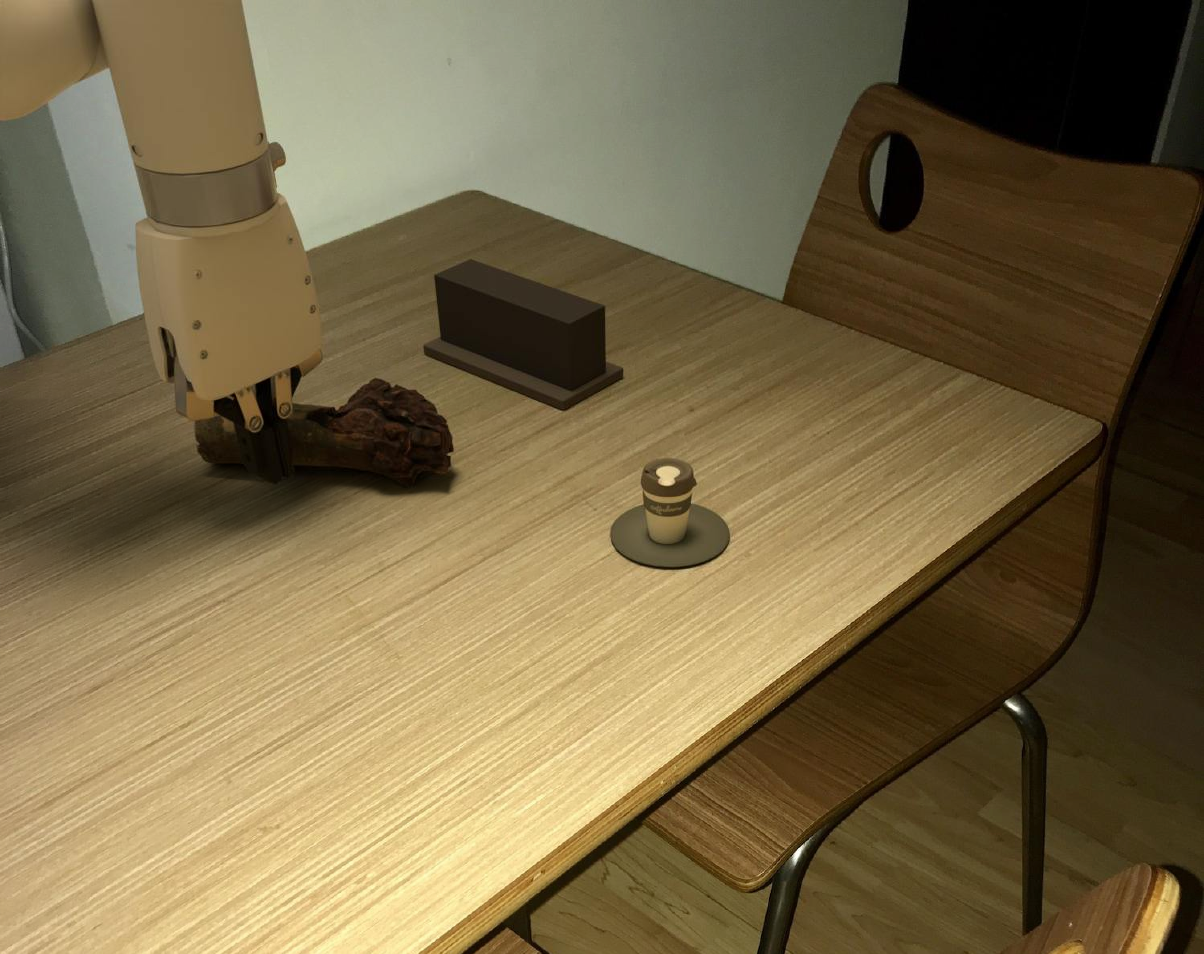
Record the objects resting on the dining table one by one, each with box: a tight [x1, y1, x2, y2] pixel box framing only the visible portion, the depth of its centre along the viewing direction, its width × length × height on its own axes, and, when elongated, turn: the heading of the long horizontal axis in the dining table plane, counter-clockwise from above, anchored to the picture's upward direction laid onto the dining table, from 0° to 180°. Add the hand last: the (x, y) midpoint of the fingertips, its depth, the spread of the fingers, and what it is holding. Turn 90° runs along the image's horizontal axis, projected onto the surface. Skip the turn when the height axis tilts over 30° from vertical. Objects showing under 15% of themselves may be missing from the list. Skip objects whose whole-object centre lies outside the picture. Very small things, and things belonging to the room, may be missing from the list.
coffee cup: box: [609, 457, 731, 569], centre depth 82 cm, size 12×12×5 cm
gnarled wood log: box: [193, 377, 455, 488], centre depth 89 cm, size 18×7×6 cm, turn 77°
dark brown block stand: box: [422, 258, 624, 411], centre depth 99 cm, size 15×7×6 cm, turn 49°
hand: (271, 472), depth 86 cm, fingers closed
